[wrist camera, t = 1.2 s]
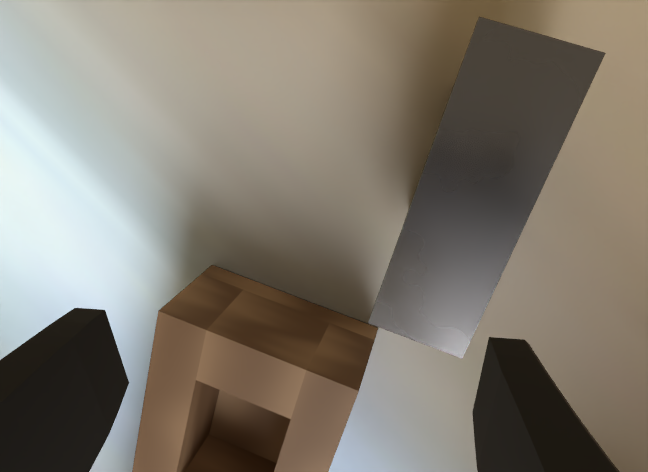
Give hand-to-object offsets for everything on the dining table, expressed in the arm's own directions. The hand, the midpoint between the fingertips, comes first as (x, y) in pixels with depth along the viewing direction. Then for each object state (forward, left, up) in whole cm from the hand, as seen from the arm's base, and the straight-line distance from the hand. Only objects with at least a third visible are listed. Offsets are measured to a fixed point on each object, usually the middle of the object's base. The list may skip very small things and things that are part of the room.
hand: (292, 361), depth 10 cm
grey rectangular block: (-3, -2, -12) cm, 12 cm away
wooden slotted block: (+2, +16, -12) cm, 20 cm away
